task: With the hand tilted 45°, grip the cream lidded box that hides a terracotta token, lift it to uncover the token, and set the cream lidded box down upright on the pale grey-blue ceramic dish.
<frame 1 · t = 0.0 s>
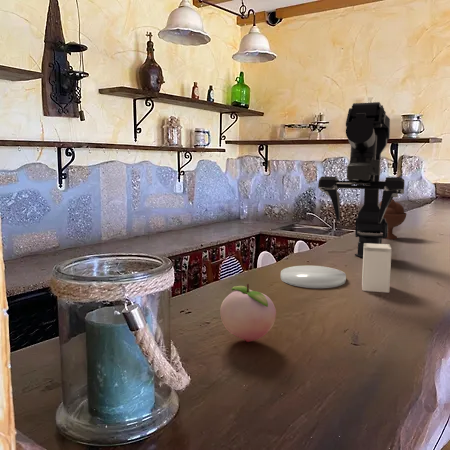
hand: (358, 222, 103), 15 cm above the bar counter, tool pointing down, fingers open, 9 cm apart
decorative fruit: (246, 343, 74), on the bar counter
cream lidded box: (375, 288, 105), on the bar counter
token: (375, 288, 105), on the bar counter
ice cream bowl: (389, 238, 168), on the bar counter
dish: (312, 279, 112), on the bar counter
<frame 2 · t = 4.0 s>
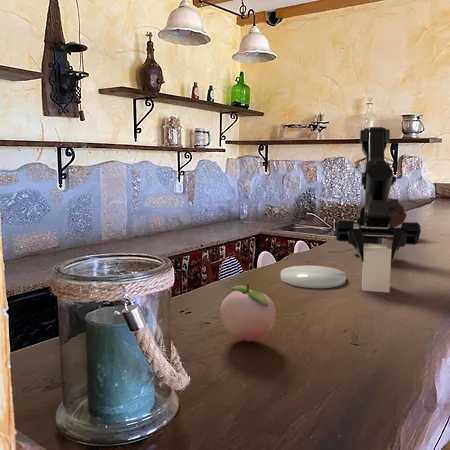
hand: (376, 261, 102), 7 cm above the bar counter, tool tilted 45°, fingers closed on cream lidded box, 6 cm apart
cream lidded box: (375, 288, 105), on the bar counter, touching gripper
everything else where it was.
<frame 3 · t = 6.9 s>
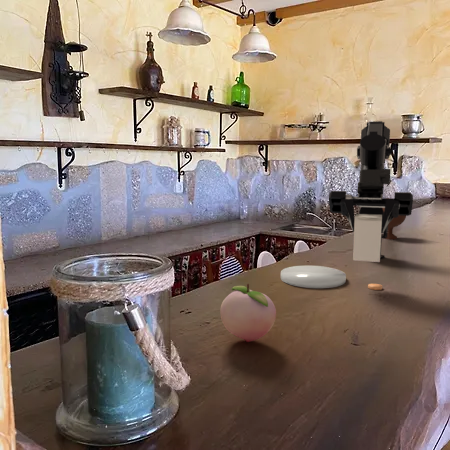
hand: (367, 231, 102), 13 cm above the bar counter, tool tilted 45°, fingers closed on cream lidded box, 6 cm apart
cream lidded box: (366, 258, 104), point 7 cm above the bar counter, touching gripper
everything else where it was.
when the fingers open (9 cm above the bar counter, at t = 9.8 s): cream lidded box drops 1 cm, resting on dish.
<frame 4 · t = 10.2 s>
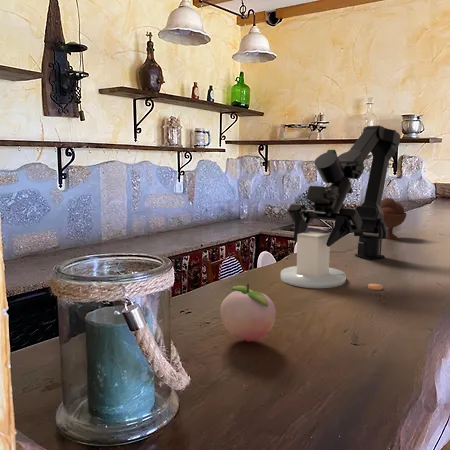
hand: (310, 243, 110), 9 cm above the bar counter, tool tilted 45°, fingers open, 9 cm apart
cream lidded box: (312, 273, 112), point 1 cm above the bar counter, touching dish
everything else where it was.
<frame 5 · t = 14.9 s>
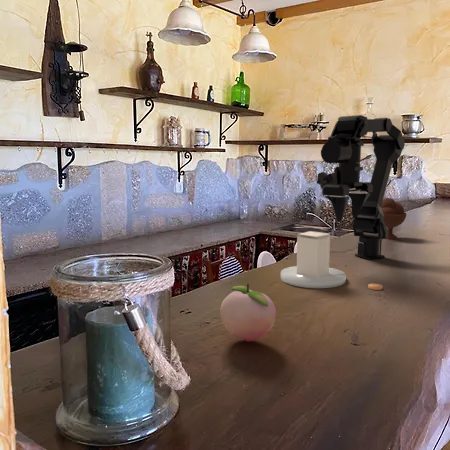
hand: (347, 219, 124), 13 cm above the bar counter, tool pointing down, fingers open, 9 cm apart
nothing on the bar counter moved.
at the end: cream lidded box inside the target area on the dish (0.0 cm from its centre), point 1.5 cm above the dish's base; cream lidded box tilted 0°; the gripper is holding nothing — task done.
